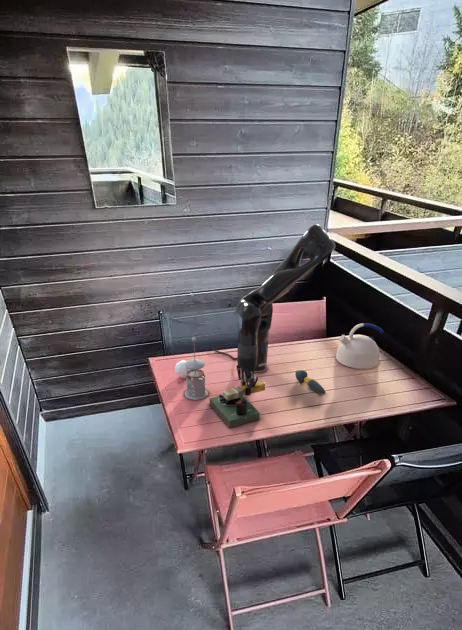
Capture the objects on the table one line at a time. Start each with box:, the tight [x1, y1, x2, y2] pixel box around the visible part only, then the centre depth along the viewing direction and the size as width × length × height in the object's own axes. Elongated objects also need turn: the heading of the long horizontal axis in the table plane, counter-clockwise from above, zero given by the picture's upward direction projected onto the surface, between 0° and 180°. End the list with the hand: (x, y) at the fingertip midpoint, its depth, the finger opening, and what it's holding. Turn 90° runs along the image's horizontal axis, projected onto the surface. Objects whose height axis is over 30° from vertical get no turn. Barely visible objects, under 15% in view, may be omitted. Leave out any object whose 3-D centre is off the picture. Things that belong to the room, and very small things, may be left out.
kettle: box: [335, 322, 385, 370], centre depth 206 cm, size 20×21×18 cm
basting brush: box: [222, 380, 266, 401], centre depth 175 cm, size 17×4×3 cm, turn 117°
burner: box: [218, 394, 241, 407], centre depth 174 cm, size 9×9×2 cm
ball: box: [174, 359, 192, 379], centre depth 194 cm, size 8×8×8 cm
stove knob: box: [236, 400, 247, 416], centre depth 166 cm, size 4×4×5 cm
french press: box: [184, 337, 209, 401], centre depth 178 cm, size 10×12×25 cm
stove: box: [208, 395, 261, 428], centre depth 172 cm, size 19×13×3 cm
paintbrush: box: [295, 369, 326, 395], centre depth 189 cm, size 20×5×5 cm, turn 38°
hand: (246, 392), depth 176 cm, fingers closed on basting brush, 2 cm apart
